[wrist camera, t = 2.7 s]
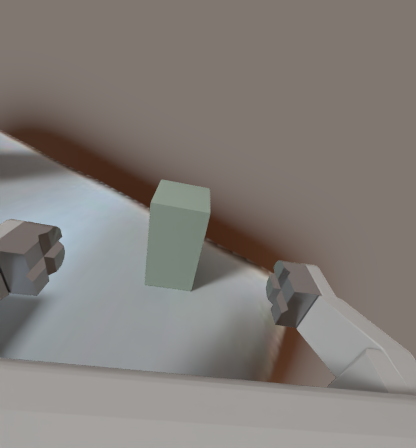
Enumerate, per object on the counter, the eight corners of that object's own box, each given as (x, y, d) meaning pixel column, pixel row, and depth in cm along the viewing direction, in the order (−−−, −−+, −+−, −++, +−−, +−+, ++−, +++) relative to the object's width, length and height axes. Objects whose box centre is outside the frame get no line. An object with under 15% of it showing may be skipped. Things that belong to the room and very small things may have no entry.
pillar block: (144, 284, 24) (150, 202, 18) (154, 253, 28) (161, 179, 23) (191, 291, 24) (210, 213, 19) (193, 259, 29) (209, 188, 23)
